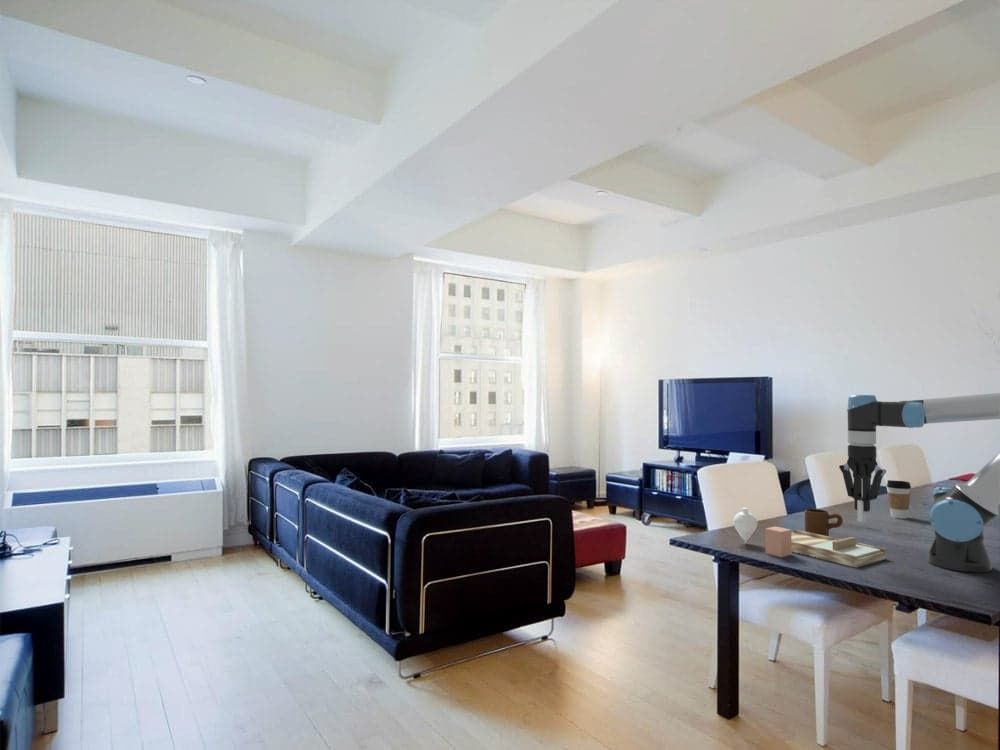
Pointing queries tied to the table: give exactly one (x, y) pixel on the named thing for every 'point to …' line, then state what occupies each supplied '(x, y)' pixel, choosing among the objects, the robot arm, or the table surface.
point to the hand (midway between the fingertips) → (862, 521)
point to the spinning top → (745, 523)
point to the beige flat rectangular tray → (804, 546)
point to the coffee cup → (899, 498)
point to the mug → (820, 521)
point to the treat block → (778, 541)
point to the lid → (847, 547)
